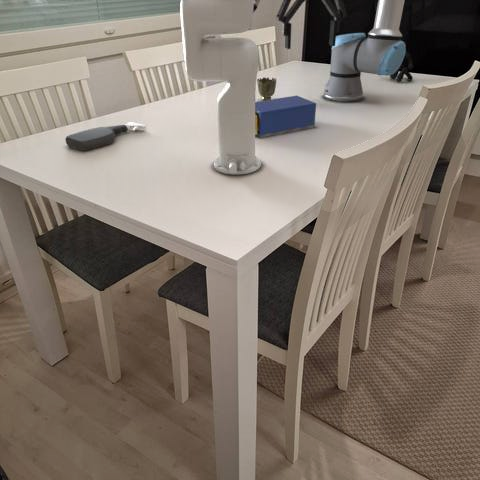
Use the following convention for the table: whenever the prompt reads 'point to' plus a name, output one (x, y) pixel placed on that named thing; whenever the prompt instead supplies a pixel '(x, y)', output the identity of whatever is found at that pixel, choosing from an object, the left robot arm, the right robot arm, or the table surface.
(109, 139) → the spray bottle
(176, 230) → the table surface
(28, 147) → the table surface
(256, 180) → the table surface
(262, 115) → the blue box
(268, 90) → the cup
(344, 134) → the table surface
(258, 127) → the drawer
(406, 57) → the squiggle
